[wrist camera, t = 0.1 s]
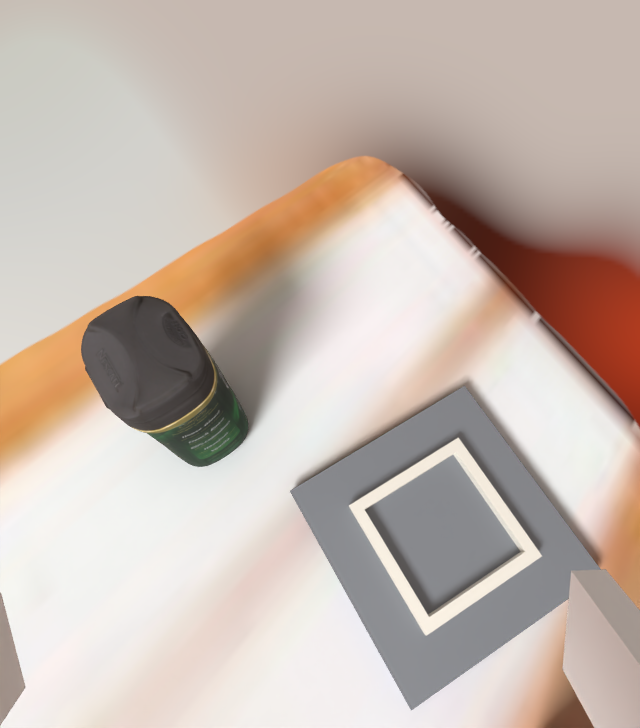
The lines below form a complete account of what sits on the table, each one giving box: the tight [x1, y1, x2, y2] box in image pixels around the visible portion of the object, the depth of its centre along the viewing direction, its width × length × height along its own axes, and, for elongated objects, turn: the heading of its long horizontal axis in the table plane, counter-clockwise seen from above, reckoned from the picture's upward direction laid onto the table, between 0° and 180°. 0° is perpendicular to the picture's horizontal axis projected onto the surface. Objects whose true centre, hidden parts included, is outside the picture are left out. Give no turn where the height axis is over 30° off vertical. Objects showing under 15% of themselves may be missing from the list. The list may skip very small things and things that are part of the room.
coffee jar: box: [81, 296, 248, 467], centre depth 42 cm, size 10×8×19 cm
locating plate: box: [290, 386, 601, 710], centre depth 45 cm, size 20×20×3 cm
